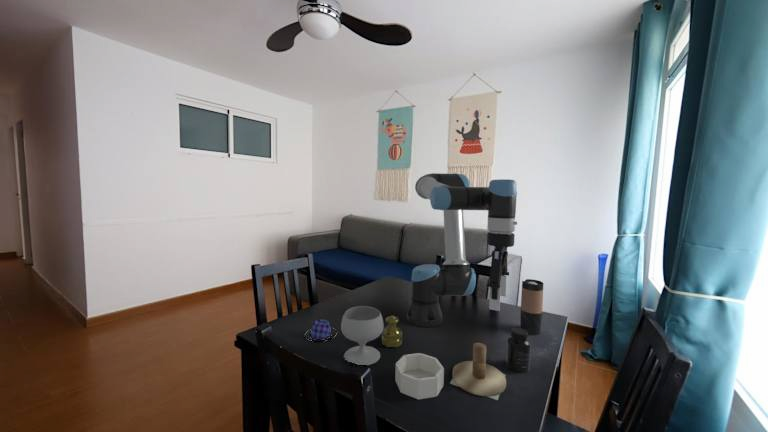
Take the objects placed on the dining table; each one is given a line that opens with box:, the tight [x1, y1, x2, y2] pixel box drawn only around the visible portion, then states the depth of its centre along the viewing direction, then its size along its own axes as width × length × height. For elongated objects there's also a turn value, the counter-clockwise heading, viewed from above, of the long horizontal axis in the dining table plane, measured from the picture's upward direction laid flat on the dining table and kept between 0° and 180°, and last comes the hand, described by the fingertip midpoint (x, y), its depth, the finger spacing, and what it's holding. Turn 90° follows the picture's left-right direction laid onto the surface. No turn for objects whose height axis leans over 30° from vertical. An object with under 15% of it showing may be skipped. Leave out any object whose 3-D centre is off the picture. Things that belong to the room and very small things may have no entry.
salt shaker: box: [381, 315, 403, 348], centre depth 107 cm, size 7×7×10 cm
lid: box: [451, 342, 507, 397], centre depth 86 cm, size 15×15×10 cm
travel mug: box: [519, 278, 544, 336], centre depth 117 cm, size 8×8×20 cm
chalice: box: [340, 305, 385, 366], centre depth 98 cm, size 14×14×15 cm
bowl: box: [394, 352, 445, 400], centre depth 84 cm, size 13×13×6 cm
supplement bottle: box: [505, 327, 532, 374], centre depth 93 cm, size 7×7×12 cm
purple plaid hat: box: [304, 319, 338, 342], centre depth 113 cm, size 12×12×5 cm
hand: (497, 302), depth 89 cm, fingers open, 13 cm apart
